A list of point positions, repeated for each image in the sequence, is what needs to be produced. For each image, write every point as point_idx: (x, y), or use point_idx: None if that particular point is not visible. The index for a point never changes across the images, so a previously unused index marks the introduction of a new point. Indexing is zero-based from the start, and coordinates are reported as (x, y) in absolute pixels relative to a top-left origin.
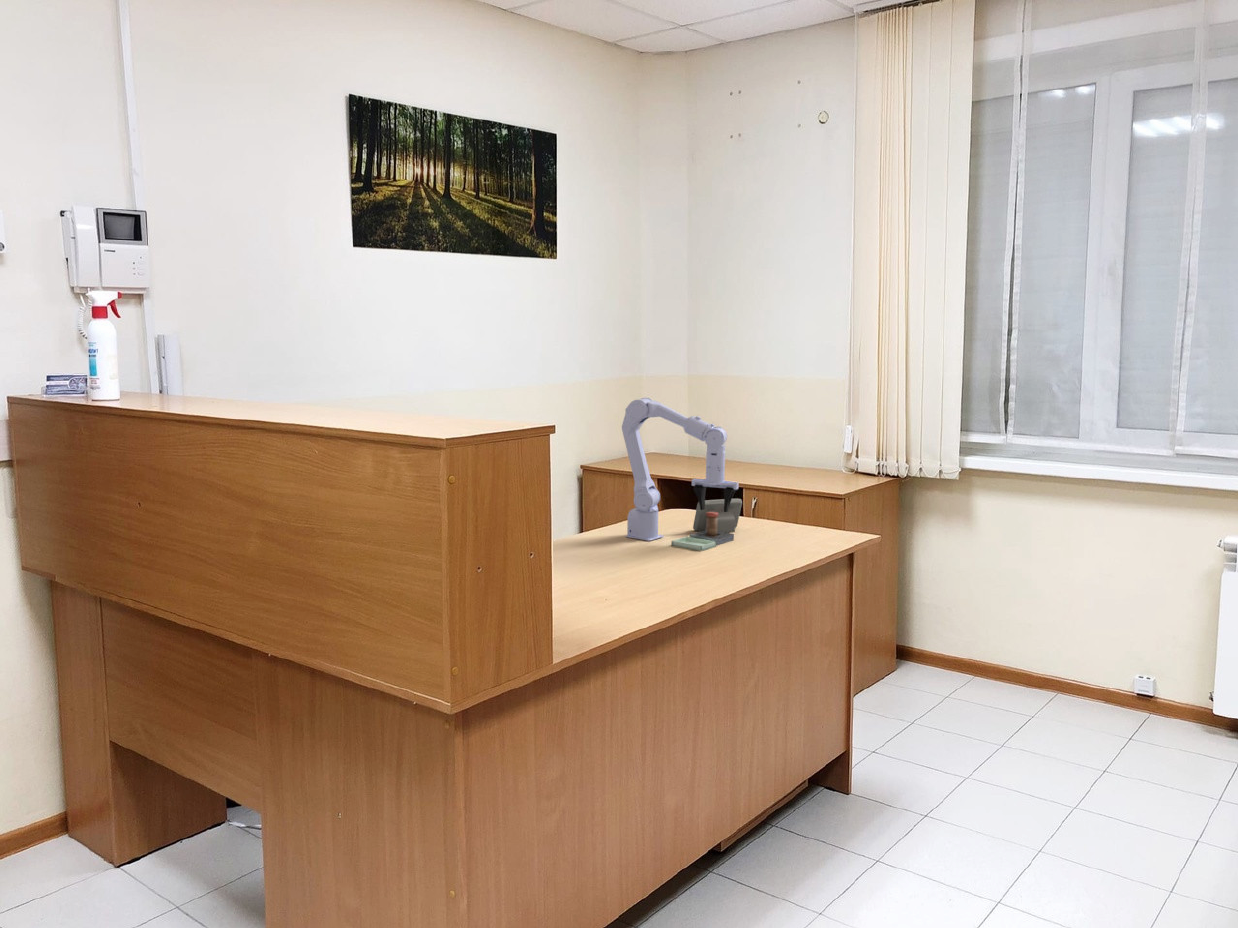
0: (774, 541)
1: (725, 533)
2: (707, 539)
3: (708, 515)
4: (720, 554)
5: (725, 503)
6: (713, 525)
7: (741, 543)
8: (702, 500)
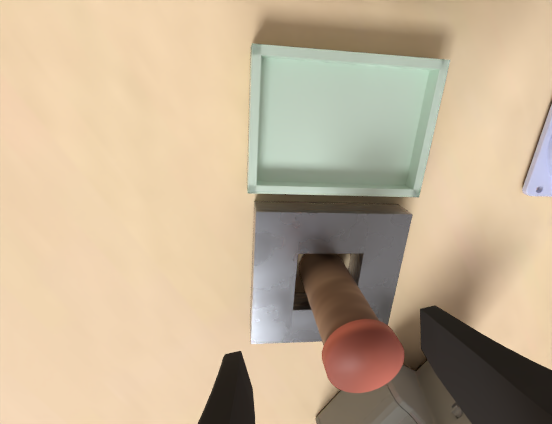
0: (116, 398)
1: (285, 329)
2: (308, 209)
3: (371, 324)
4: (127, 43)
5: (217, 415)
6: (323, 298)
7: (193, 301)
8: (478, 377)
